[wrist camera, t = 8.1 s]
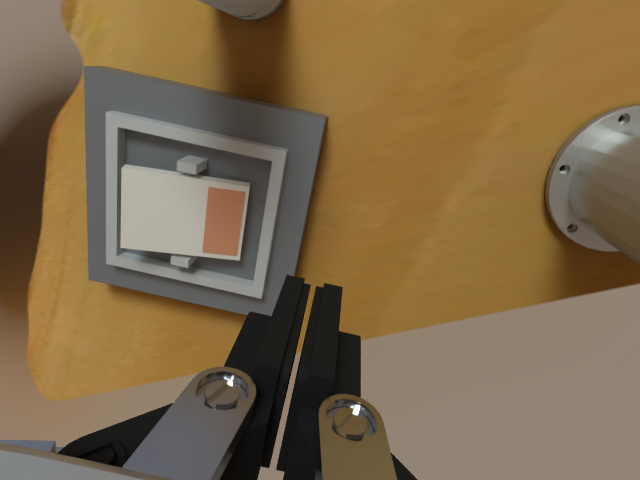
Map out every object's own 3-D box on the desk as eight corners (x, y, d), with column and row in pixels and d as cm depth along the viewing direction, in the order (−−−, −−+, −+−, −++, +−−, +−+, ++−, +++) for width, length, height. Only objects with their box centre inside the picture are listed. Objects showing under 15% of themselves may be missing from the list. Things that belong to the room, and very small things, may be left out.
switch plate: (328, 115, 36) (322, 122, 31) (289, 307, 44) (279, 339, 39) (105, 66, 36) (62, 65, 31) (105, 266, 44) (71, 292, 39)
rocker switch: (249, 182, 36) (249, 187, 34) (239, 254, 38) (239, 261, 37) (125, 164, 33) (121, 168, 32) (124, 241, 36) (120, 248, 35)
